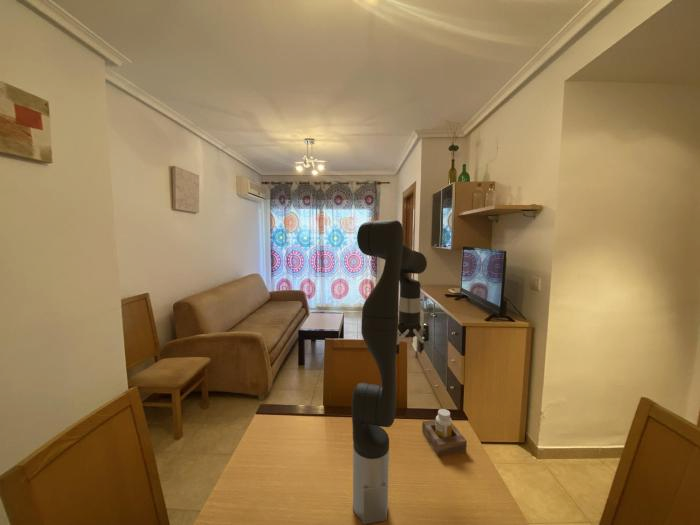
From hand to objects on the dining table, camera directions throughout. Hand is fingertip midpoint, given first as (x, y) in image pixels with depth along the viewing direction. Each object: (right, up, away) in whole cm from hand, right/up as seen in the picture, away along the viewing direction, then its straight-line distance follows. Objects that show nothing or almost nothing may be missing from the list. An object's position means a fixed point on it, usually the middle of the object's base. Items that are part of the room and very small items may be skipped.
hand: (408, 352), depth 108 cm
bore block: (+11, -29, -5) cm, 32 cm away
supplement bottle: (+11, -28, -5) cm, 31 cm away
